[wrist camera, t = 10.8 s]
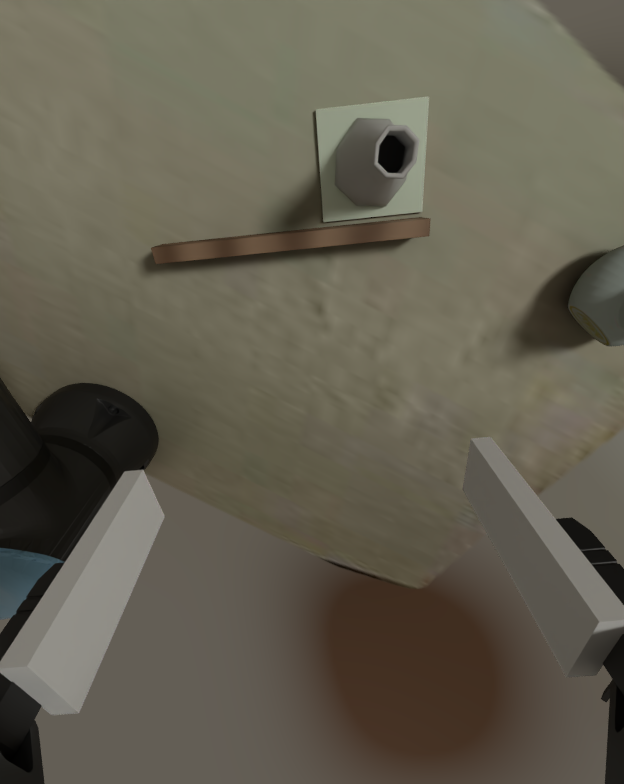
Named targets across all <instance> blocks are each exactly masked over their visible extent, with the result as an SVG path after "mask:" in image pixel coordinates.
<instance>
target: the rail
mask: <svg viewBox="0 0 624 784" xmlns="http://www.w3.org/2000/svg"><path fill="white" fill-rule="evenodd" d="M429 231H430V219H429V218H423V217H419V218H409V219H400V220H390V221H380V222H371V223H361V224H352V225H342V226H333V227H323V228H313V229H304V230H294V231H285V232H275V233H266V234H256V235H246V236H237V237H227V238H218V239H208V240H199V241H189V242H179V243H170V244H162V245H158V246H155V247H152V248H151V250H152V253H153V257H154V260H155V263H156V264H162V263H171V262H181V261H191V260H201V259H210V258H220V257H230V256H240V255H249V254H259V253H269V252H278V251H288V250H298V249H308V248H317V247H327V246H337V245H347V244H356V243H366V242H376V241H386V240H395V239H405V238H415V237H425V236H429Z"/></svg>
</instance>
